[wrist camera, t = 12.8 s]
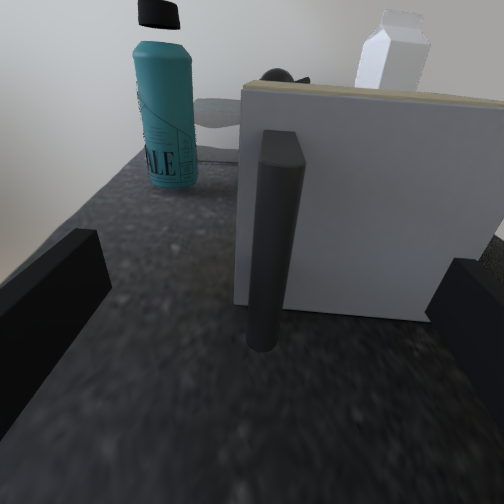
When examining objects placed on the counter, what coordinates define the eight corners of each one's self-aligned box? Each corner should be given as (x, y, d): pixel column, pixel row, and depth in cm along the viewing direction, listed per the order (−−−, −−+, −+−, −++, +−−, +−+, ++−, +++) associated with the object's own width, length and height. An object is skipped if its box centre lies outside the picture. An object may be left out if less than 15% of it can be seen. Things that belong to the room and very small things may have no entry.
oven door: (500, 412, 15) (778, 141, 7) (219, 385, 15) (218, 99, 8) (433, 313, 21) (550, 110, 14) (235, 295, 21) (243, 88, 14)
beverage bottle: (200, 183, 42) (193, 9, 31) (198, 200, 36) (188, -4, 26) (155, 182, 41) (131, 3, 30) (146, 200, 36) (113, -12, 25)
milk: (384, 189, 45) (444, 11, 33) (350, 189, 44) (401, 4, 32) (363, 176, 50) (408, 17, 38) (332, 177, 49) (370, 12, 37)
